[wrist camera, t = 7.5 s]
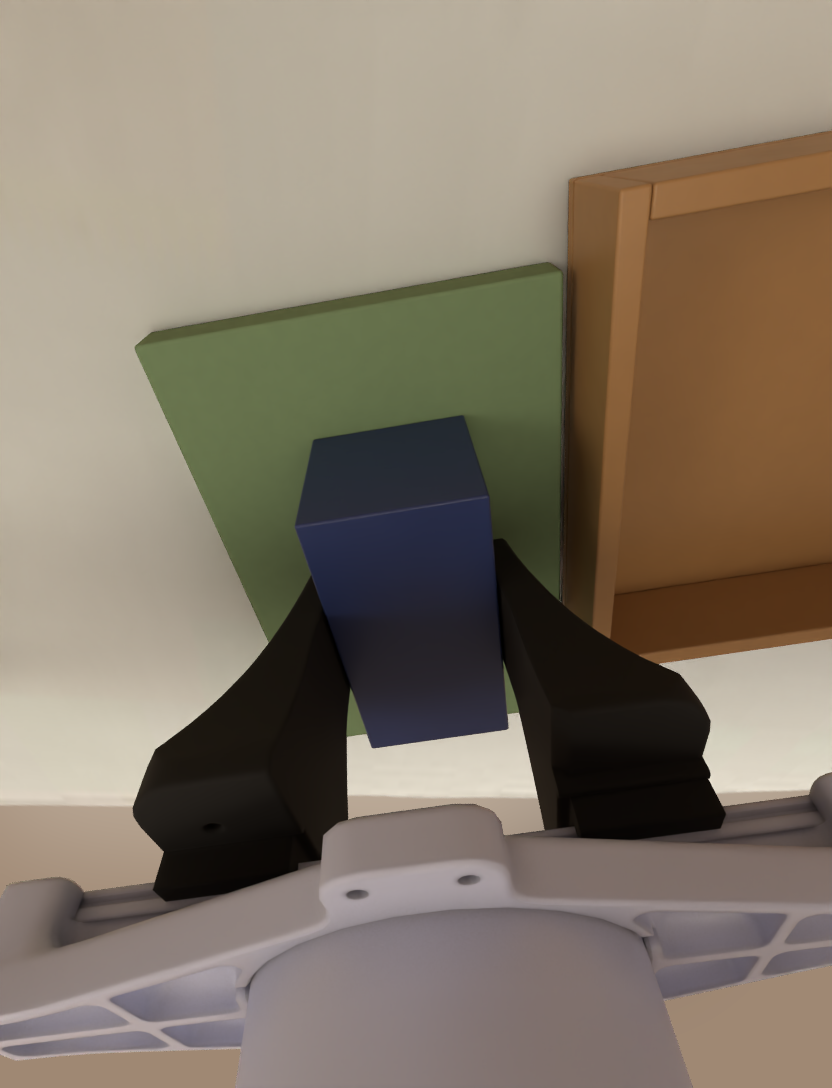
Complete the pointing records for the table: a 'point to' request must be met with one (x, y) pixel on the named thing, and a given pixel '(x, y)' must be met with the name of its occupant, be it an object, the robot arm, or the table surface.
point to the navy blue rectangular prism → (408, 578)
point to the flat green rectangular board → (369, 411)
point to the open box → (701, 401)
